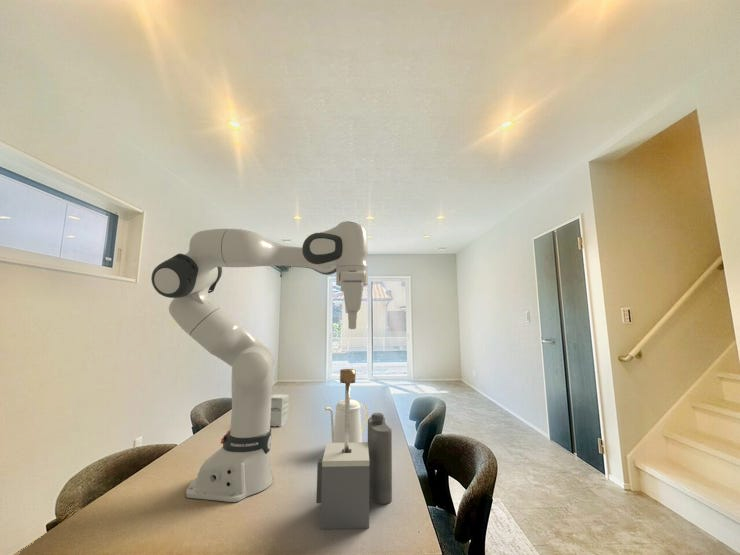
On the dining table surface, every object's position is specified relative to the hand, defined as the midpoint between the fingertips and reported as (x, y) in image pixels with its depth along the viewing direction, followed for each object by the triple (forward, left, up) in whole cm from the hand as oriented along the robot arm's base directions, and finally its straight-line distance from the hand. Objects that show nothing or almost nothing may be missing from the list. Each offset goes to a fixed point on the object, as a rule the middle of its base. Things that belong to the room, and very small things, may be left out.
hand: (352, 328), depth 82 cm
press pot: (-1, -2, -45) cm, 45 cm away
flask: (+8, +9, -45) cm, 46 cm away
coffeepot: (-2, +36, -45) cm, 58 cm away
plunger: (-1, -2, -35) cm, 35 cm away
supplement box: (-35, +66, -45) cm, 87 cm away
